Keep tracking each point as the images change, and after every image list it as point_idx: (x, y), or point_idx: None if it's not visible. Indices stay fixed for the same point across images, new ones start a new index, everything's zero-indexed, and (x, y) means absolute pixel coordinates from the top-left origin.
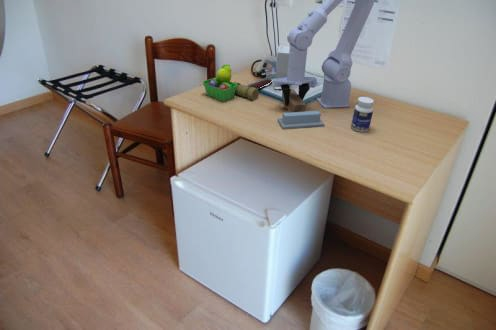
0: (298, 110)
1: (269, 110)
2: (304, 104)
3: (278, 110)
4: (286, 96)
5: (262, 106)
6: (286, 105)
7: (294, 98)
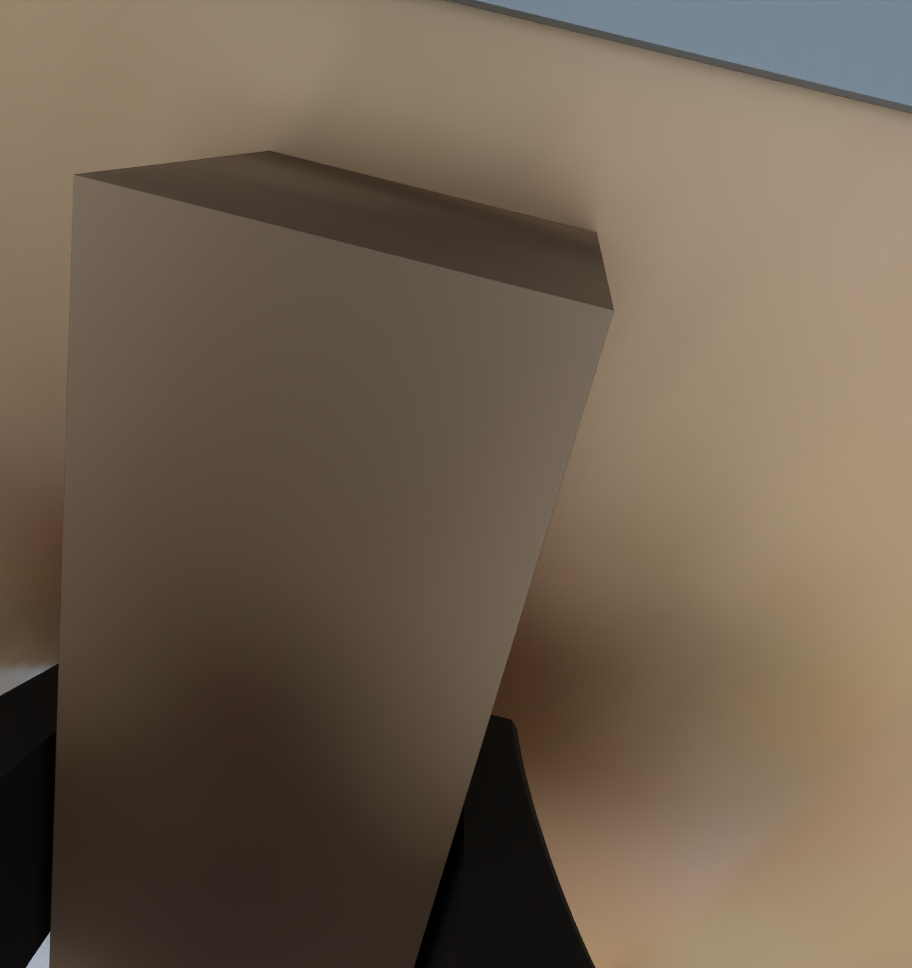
0: (434, 220)
1: (904, 774)
2: (134, 204)
3: (709, 697)
4: (571, 960)
5: (906, 960)
6: (513, 731)
7: (277, 800)
